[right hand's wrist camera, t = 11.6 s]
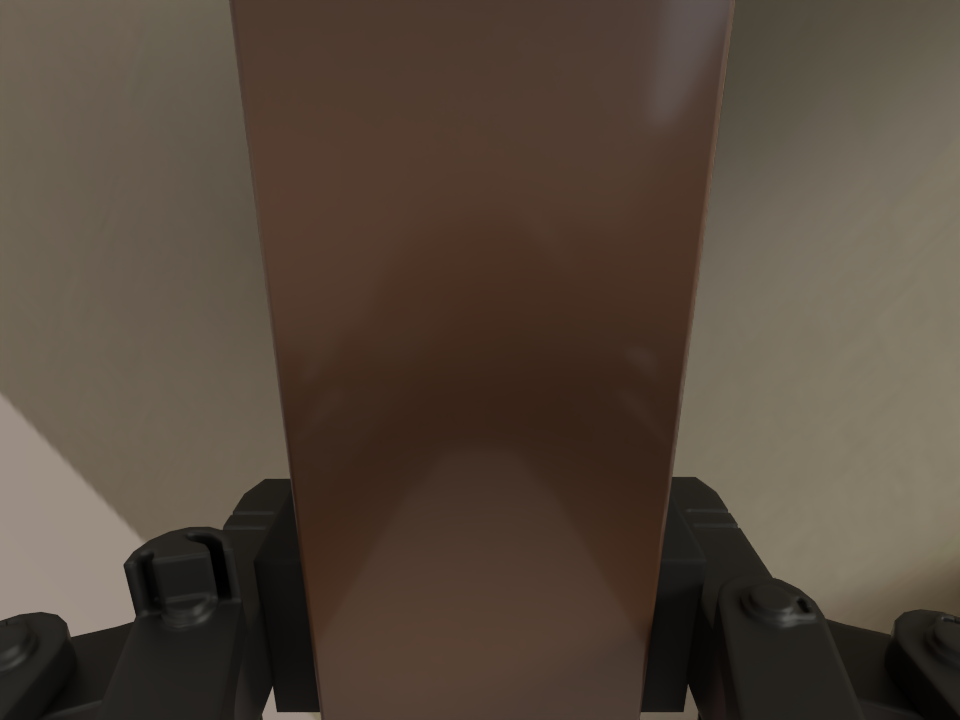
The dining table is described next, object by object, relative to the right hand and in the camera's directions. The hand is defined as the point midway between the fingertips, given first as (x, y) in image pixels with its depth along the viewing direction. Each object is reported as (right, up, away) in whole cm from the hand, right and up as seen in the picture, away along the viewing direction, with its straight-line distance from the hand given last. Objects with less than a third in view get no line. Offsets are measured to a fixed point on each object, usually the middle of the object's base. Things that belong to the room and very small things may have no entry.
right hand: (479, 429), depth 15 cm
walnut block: (0, +9, -3) cm, 9 cm away
